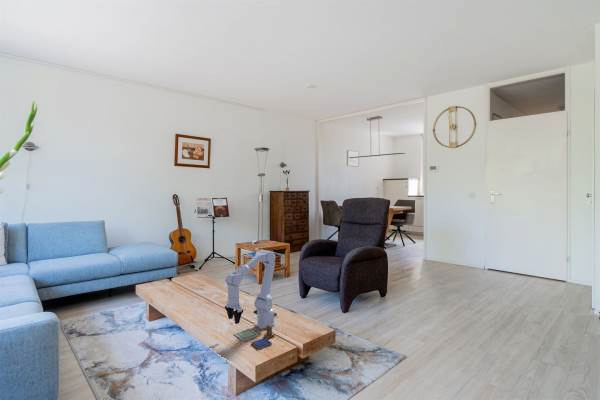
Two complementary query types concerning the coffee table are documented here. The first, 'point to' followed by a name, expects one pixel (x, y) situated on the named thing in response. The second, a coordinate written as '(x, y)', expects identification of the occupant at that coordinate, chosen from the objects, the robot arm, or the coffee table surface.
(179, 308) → the coffee table surface
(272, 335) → the stamp
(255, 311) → the phone
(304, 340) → the coffee table surface
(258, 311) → the robot arm
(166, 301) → the coffee table surface
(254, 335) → the board
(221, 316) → the coffee table surface
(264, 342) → the ink pad
